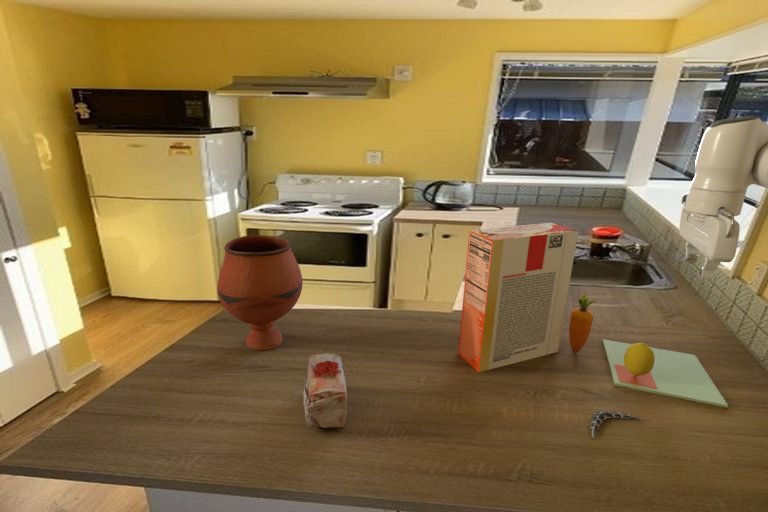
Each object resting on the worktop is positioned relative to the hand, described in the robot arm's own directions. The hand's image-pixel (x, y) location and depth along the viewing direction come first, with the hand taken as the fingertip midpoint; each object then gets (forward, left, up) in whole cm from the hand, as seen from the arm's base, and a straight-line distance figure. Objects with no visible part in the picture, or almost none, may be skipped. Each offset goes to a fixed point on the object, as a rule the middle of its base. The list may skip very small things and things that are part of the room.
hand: (697, 269), depth 88 cm
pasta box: (+35, +6, -24) cm, 43 cm away
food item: (+66, +40, -24) cm, 81 cm away
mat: (+3, +1, -24) cm, 24 cm away
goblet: (+91, +23, -24) cm, 97 cm away
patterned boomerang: (+16, +24, -24) cm, 38 cm away
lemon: (+8, +7, -24) cm, 26 cm away
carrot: (+20, 0, -24) cm, 31 cm away
